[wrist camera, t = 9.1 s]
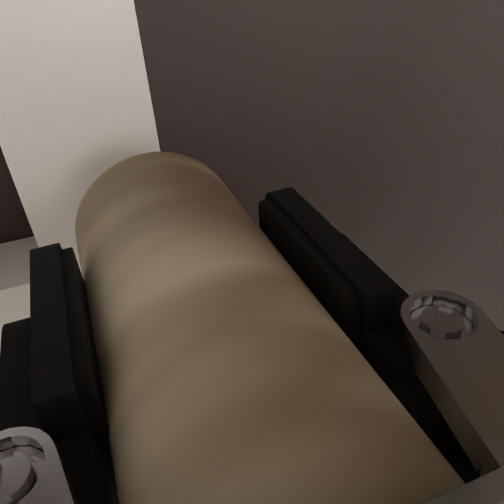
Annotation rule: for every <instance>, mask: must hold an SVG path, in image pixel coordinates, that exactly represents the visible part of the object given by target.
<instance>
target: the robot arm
mask: <svg viewBox="0 0 504 504" xmlns="http://www.w3.org/2000/svg"><path fill="white" fill-rule="evenodd" d="M259 223H260V229H261V230H262V231H263V232H264V233H265V235H266V236H267V237H268V238H269V240H270V241H271V242H272V243H273V245H274V246H275V247H276V248H277V250H278V251H279V252H280V253H281V255H282V256H283V257H284V258H285V260H286V261H287V262H288V263H289V265H290V266H291V267H292V268H293V270H294V271H295V272H296V273H297V275H298V276H299V277H300V278H301V280H302V281H303V282H304V283H305V285H306V286H307V287H308V288H309V290H310V291H311V292H312V293H313V294H314V296H315V297H316V298H317V299H318V301H319V302H320V303H321V304H322V306H323V307H324V308H325V309H326V311H327V312H328V313H329V314H330V316H331V317H332V318H333V319H334V321H335V322H336V323H337V324H338V326H339V327H340V328H341V329H342V331H343V332H344V333H345V334H346V336H347V337H348V338H349V339H350V341H351V342H352V343H353V344H354V346H355V347H356V348H357V349H358V351H359V352H360V353H361V354H362V355H363V357H364V358H365V359H366V360H367V362H368V363H369V364H370V365H371V367H372V368H373V369H374V370H375V372H376V373H377V374H378V375H379V377H380V378H381V379H382V380H383V382H384V383H385V384H386V385H387V387H388V388H389V389H390V390H391V392H392V393H393V394H394V395H395V397H396V398H397V399H398V400H399V402H400V403H401V404H402V405H403V407H404V408H405V409H406V410H407V412H408V413H409V414H410V415H411V417H412V418H413V419H414V420H415V421H416V423H417V424H418V425H419V426H420V428H421V429H422V430H423V431H424V433H425V434H426V435H427V436H428V438H429V439H430V440H431V441H432V443H433V444H434V445H435V446H436V448H437V449H438V450H439V451H440V453H441V454H442V455H443V456H444V458H445V459H446V460H447V461H448V463H449V464H450V465H451V466H452V468H453V469H454V470H455V471H456V473H457V474H458V475H459V476H460V478H461V479H462V480H463V481H464V482H465V485H463V486H461V487H459V488H456V489H454V490H452V491H450V492H448V493H446V494H444V495H442V496H440V497H438V498H435V499H433V500H431V501H429V502H427V503H425V504H504V331H500V330H499V329H498V328H497V327H496V326H495V324H494V323H493V322H492V321H491V320H490V319H489V318H488V317H487V316H486V314H485V313H484V312H483V311H482V310H481V309H480V308H479V307H478V306H476V305H475V304H474V303H473V302H472V301H470V300H468V299H466V298H464V297H462V296H460V295H457V294H454V293H451V292H447V291H439V290H429V291H421V292H418V293H415V294H412V295H411V296H409V295H408V294H407V293H406V292H405V291H404V290H402V289H401V288H400V287H399V286H398V285H397V284H396V283H395V282H394V281H393V280H392V279H391V278H390V277H389V276H388V275H386V274H385V273H384V272H383V271H382V270H381V269H380V268H379V267H378V266H377V265H376V264H375V263H374V262H373V261H372V260H370V259H369V258H368V257H367V256H366V255H365V254H364V253H363V252H362V251H361V250H360V249H359V248H358V247H357V246H356V245H354V244H353V243H352V242H351V241H350V240H349V239H348V238H347V237H346V236H345V235H343V234H342V233H340V232H339V231H338V230H337V229H335V228H334V227H333V226H332V225H331V224H330V223H329V222H328V221H327V220H326V219H325V218H324V217H323V216H322V215H321V214H320V213H319V212H317V211H316V210H315V209H314V208H313V207H312V206H311V205H310V204H309V203H308V202H307V201H306V200H305V199H304V198H303V197H302V196H300V195H299V194H298V193H297V192H296V191H295V190H294V189H293V188H291V187H290V188H285V189H281V190H277V191H273V192H268V193H267V194H266V196H265V200H262V201H260V202H259ZM0 504H119V499H118V493H117V487H116V481H115V475H114V469H113V463H112V456H111V450H110V443H109V429H108V423H107V417H106V411H105V405H104V399H103V393H102V387H101V381H100V375H99V369H98V363H97V357H96V351H95V345H94V339H93V333H92V327H91V321H90V315H89V309H88V303H87V297H86V291H85V285H84V280H83V277H82V274H81V271H80V268H79V265H78V262H77V259H76V256H75V253H74V250H73V248H72V247H69V248H65V249H62V247H61V245H60V243H55V244H51V245H47V246H43V247H39V248H34V249H31V250H30V317H29V318H25V319H21V320H18V321H14V322H11V323H7V324H4V325H3V327H2V332H1V347H0Z"/></svg>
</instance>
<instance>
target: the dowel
mask: <svg viewBox="0 0 504 504" xmlns="http://www.w3.org/2000/svg"><path fill="white" fill-rule="evenodd" d="M75 235H76V242H77V248H78V255H79V261H80V267H81V273H82V277H83V280H84V285H85V291H86V297H87V303H88V309H89V315H90V321H91V327H92V333H93V339H94V345H95V351H96V357H97V363H98V369H99V375H100V381H101V387H102V393H103V399H104V405H105V411H106V417H107V423H108V429H109V443H110V450H111V456H112V463H113V469H114V475H115V481H116V487H117V493H118V499H119V504H425V503H427V502H429V501H431V500H433V499H435V498H438V497H440V496H442V495H444V494H446V493H448V492H450V491H452V490H454V489H456V488H459V487H461V486H463V485H465V482H464V481H463V480H462V479H461V478H460V476H459V475H458V474H457V473H456V471H455V470H454V469H453V468H452V466H451V465H450V464H449V463H448V461H447V460H446V459H445V458H444V456H443V455H442V454H441V453H440V451H439V450H438V449H437V448H436V446H435V445H434V444H433V443H432V441H431V440H430V439H429V438H428V436H427V435H426V434H425V433H424V431H423V430H422V429H421V428H420V426H419V425H418V424H417V423H416V421H415V420H414V419H413V418H412V417H411V415H410V414H409V413H408V412H407V410H406V409H405V408H404V407H403V405H402V404H401V403H400V402H399V400H398V399H397V398H396V397H395V395H394V394H393V393H392V392H391V390H390V389H389V388H388V387H387V385H386V384H385V383H384V382H383V380H382V379H381V378H380V377H379V375H378V374H377V373H376V372H375V370H374V369H373V368H372V367H371V365H370V364H369V363H368V362H367V360H366V359H365V358H364V357H363V355H362V354H361V353H360V352H359V351H358V349H357V348H356V347H355V346H354V344H353V343H352V342H351V341H350V339H349V338H348V337H347V336H346V334H345V333H344V332H343V331H342V329H341V328H340V327H339V326H338V324H337V323H336V322H335V321H334V319H333V318H332V317H331V316H330V314H329V313H328V312H327V311H326V309H325V308H324V307H323V306H322V304H321V303H320V302H319V301H318V299H317V298H316V297H315V296H314V294H313V293H312V292H311V291H310V290H309V288H308V287H307V286H306V285H305V283H304V282H303V281H302V280H301V278H300V277H299V276H298V275H297V273H296V272H295V271H294V270H293V268H292V267H291V266H290V265H289V263H288V262H287V261H286V260H285V258H284V257H283V256H282V255H281V253H280V252H279V251H278V250H277V248H276V247H275V246H274V245H273V243H272V242H271V241H270V240H269V238H268V237H267V236H266V235H265V233H264V232H263V231H262V230H261V229H260V227H259V226H258V225H257V224H256V222H255V221H254V220H253V219H252V217H251V216H250V215H249V214H248V212H247V211H246V210H245V209H244V207H243V206H242V205H241V204H240V202H239V201H238V200H237V199H236V197H235V196H234V195H233V194H232V192H231V191H230V190H229V189H228V187H227V186H226V185H225V184H224V182H223V181H222V180H221V179H220V177H219V176H218V175H217V174H216V173H215V172H214V171H213V170H212V169H211V168H210V167H208V166H207V165H205V164H204V163H203V162H201V161H199V160H197V159H195V158H192V157H190V156H187V155H184V154H179V153H175V152H164V151H162V152H149V153H143V154H139V155H135V156H132V157H129V158H127V159H124V160H122V161H120V162H118V163H116V164H115V165H113V166H111V167H110V168H108V169H107V170H106V171H105V172H103V173H102V174H101V175H100V176H99V177H98V178H97V179H96V180H95V181H94V182H93V183H92V184H91V186H90V187H89V188H88V190H87V191H86V193H85V194H84V196H83V198H82V200H81V202H80V205H79V208H78V211H77V215H76V220H75Z"/></svg>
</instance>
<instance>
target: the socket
mask: <svg viewBox="0 0 504 504" xmlns="http://www.w3.org/2000/svg"><path fill="white" fill-rule="evenodd" d="M0 147H1V149H2V152H3V155H4V157H5V160H6V163H7V165H8V168H9V170H10V173H11V176H12V178H13V181H14V184H15V186H16V189H17V192H18V194H19V197H20V199H21V202H22V205H23V207H24V210H25V213H26V215H27V218H28V221H29V223H30V226H31V228H32V231H33V234H34V236H32V237H28V238H23V239H19V240H15V241H10V242H6V243H2V244H0V347H1V332H2V327H3V325H4V324H7V323H11V322H14V321H18V320H21V319H25V318H29V317H30V250H31V249H34V248H39V247H43V246H47V245H51V244H55V243H60V245H61V247H62V249H65V248H69V247H72V248H73V250H74V253H75V256H76V259H77V262H78V265H79V268H80V271H81V267H80V261H79V255H78V248H77V242H76V235H75V220H76V215H77V211H78V208H79V205H80V202H81V200H82V198H83V196H84V194H85V193H86V191H87V190H88V188H89V187H90V186H91V184H92V183H93V182H94V181H95V180H96V179H97V178H98V177H99V176H100V175H101V174H102V173H103V172H105V171H106V170H107V169H108V168H110V167H111V166H113V165H115V164H116V163H118V162H120V161H122V160H124V159H127V158H129V157H132V156H135V155H139V154H143V153H149V152H160V146H159V141H158V135H157V130H156V124H155V118H154V113H153V107H152V101H151V96H150V90H149V85H148V79H147V73H146V68H145V62H144V56H143V51H142V45H141V40H140V34H139V28H138V23H137V17H136V11H135V6H134V0H0ZM81 274H82V273H81Z"/></svg>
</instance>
